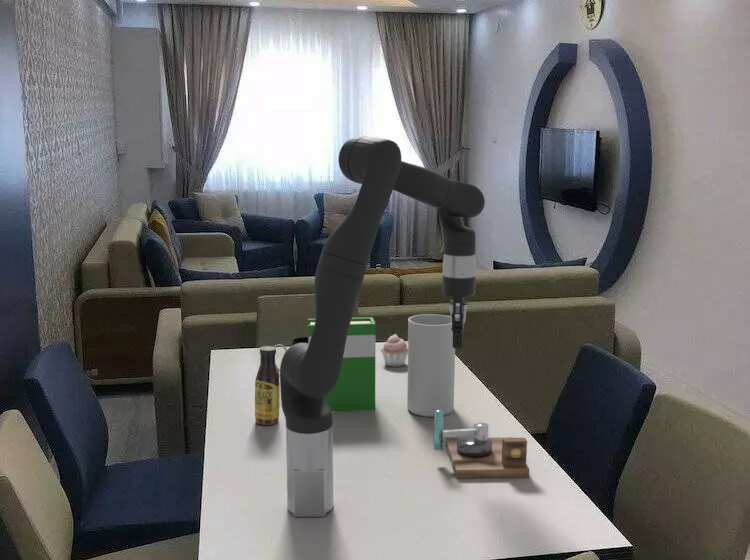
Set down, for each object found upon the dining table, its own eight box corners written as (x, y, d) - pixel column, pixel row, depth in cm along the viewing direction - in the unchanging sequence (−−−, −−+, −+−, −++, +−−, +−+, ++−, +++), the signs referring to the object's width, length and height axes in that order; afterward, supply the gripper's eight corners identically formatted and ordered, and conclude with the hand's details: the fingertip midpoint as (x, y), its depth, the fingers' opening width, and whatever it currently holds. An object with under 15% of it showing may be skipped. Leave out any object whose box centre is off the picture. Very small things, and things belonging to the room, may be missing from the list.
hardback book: (309, 412, 213) (308, 325, 208) (308, 403, 220) (307, 318, 215) (375, 410, 214) (375, 323, 210) (372, 401, 222) (372, 317, 217)
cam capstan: (485, 442, 187) (486, 401, 185) (496, 456, 179) (498, 413, 177) (429, 446, 184) (430, 405, 183) (438, 460, 177) (439, 417, 175)
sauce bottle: (250, 423, 204) (248, 349, 201) (264, 416, 210) (262, 343, 206) (271, 428, 201) (269, 352, 198) (285, 420, 207) (283, 346, 203)
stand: (529, 478, 173) (530, 443, 171) (456, 479, 172) (457, 444, 171) (511, 445, 191) (513, 413, 190) (445, 445, 191) (446, 414, 189)
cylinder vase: (425, 398, 224) (426, 312, 219) (462, 408, 216) (464, 319, 211) (398, 410, 214) (398, 320, 209) (436, 421, 206) (437, 327, 202)
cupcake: (414, 363, 257) (415, 333, 256) (400, 370, 250) (400, 339, 248) (390, 358, 262) (390, 329, 260) (375, 365, 255) (375, 335, 253)
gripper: (475, 279, 174) (473, 356, 177) (476, 269, 187) (474, 340, 190) (440, 278, 175) (439, 354, 178) (444, 268, 188) (442, 339, 191)
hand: (457, 347), depth 184 cm, fingers closed
